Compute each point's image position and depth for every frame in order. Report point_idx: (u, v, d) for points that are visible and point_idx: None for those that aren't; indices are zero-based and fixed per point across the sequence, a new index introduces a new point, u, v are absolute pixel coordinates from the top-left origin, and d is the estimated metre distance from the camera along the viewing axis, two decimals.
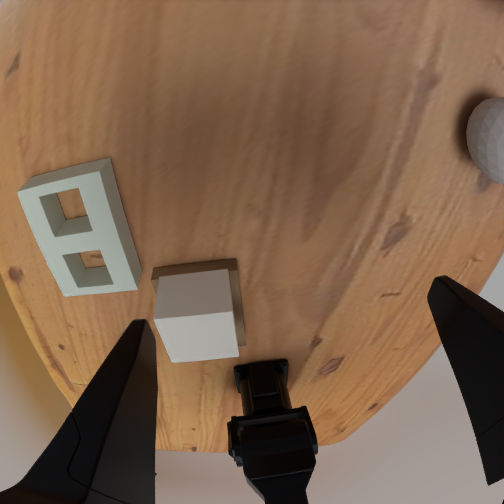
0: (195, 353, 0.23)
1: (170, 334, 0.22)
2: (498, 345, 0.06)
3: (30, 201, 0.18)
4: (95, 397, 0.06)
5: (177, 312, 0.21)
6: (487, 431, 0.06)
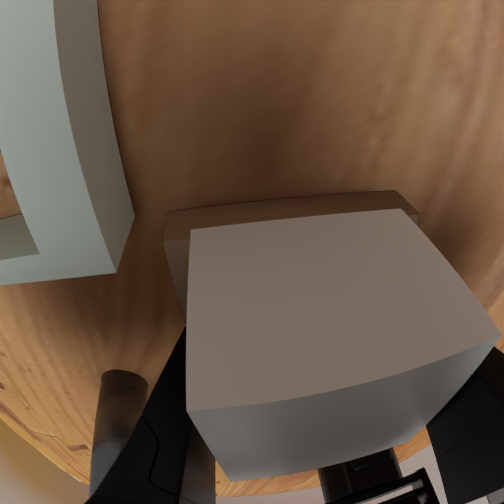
0: (309, 463, 0.07)
1: (251, 443, 0.05)
2: None
3: None
4: (167, 397, 0.06)
5: (302, 368, 0.04)
6: (447, 453, 0.06)
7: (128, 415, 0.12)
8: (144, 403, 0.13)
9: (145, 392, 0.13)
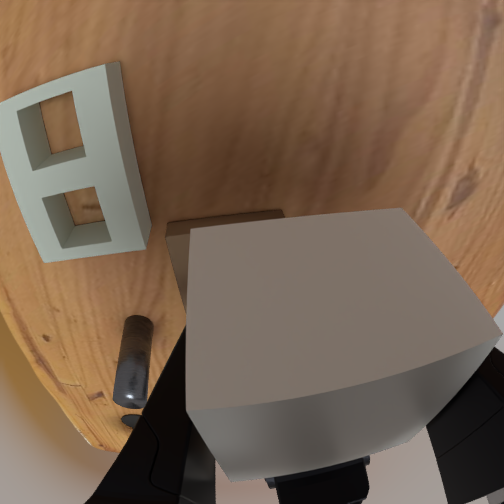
0: (309, 463, 0.07)
1: (251, 443, 0.05)
2: None
3: (5, 119, 0.11)
4: (167, 396, 0.06)
5: (302, 368, 0.04)
6: (446, 453, 0.06)
7: (141, 339, 0.22)
8: (151, 335, 0.23)
9: (152, 329, 0.23)
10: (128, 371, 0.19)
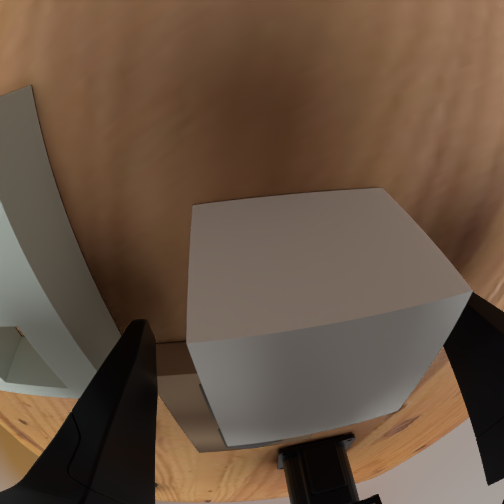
0: (301, 424, 0.08)
1: (244, 390, 0.06)
2: (498, 345, 0.06)
3: None
4: (95, 397, 0.06)
5: (287, 310, 0.05)
6: (487, 431, 0.06)
7: None
8: None
9: None
10: None
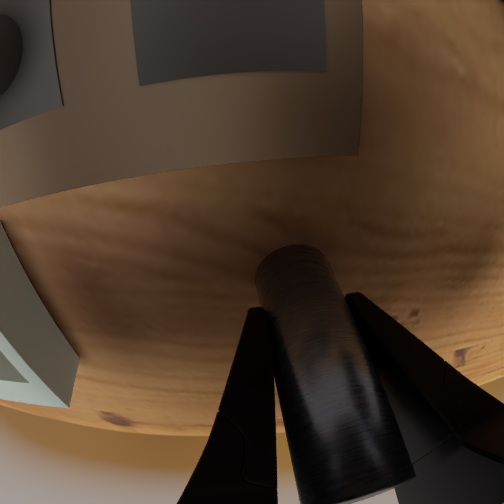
0: None
1: None
2: (406, 382, 0.06)
3: None
4: (244, 390, 0.06)
5: None
6: None
7: (278, 316, 0.08)
8: (301, 272, 0.08)
9: (297, 257, 0.09)
10: (289, 437, 0.06)
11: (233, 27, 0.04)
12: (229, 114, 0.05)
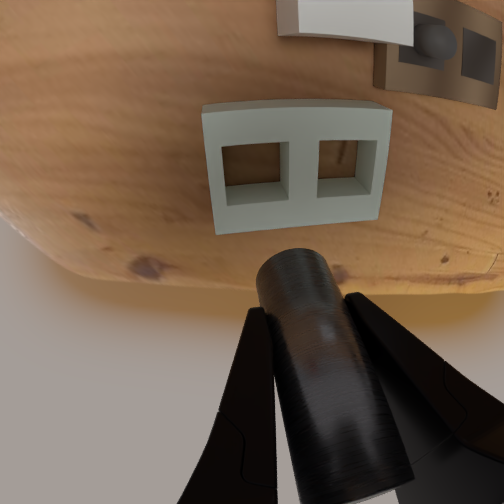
0: (393, 0, 0.09)
1: (340, 18, 0.10)
2: (406, 382, 0.06)
3: (231, 218, 0.17)
4: (244, 390, 0.06)
5: None
6: None
7: (278, 320, 0.08)
8: (301, 276, 0.08)
9: (297, 261, 0.09)
10: (289, 440, 0.06)
11: (479, 68, 0.13)
12: (475, 90, 0.14)
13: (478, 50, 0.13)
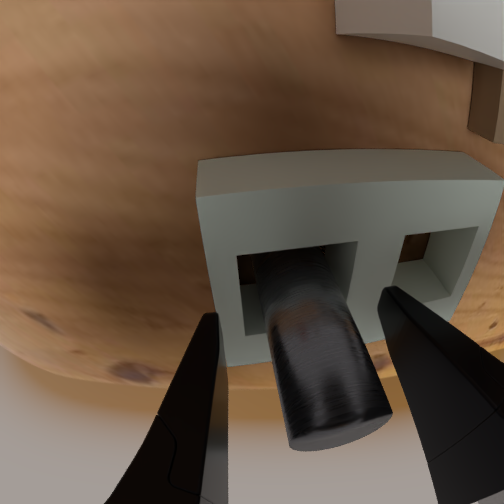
0: None
1: (496, 23, 0.03)
2: (447, 367, 0.06)
3: (252, 349, 0.11)
4: (183, 396, 0.06)
5: None
6: (437, 457, 0.06)
7: (267, 275, 0.09)
8: None
9: None
10: (276, 375, 0.07)
11: None
12: None
13: None
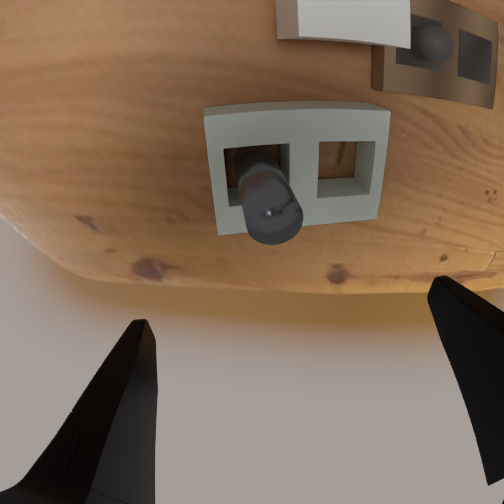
0: (391, 4, 0.10)
1: (339, 22, 0.10)
2: (499, 345, 0.06)
3: (233, 219, 0.18)
4: (95, 397, 0.06)
5: (295, 2, 0.10)
6: (487, 431, 0.06)
7: (240, 163, 0.16)
8: (253, 148, 0.17)
9: None
10: (241, 199, 0.14)
11: (476, 68, 0.14)
12: (472, 90, 0.15)
13: (474, 51, 0.13)
